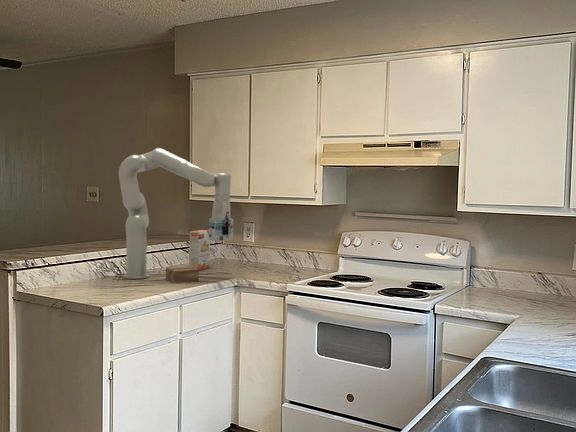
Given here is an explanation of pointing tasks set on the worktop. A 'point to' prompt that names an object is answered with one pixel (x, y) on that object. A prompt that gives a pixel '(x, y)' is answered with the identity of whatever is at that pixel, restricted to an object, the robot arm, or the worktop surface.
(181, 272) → the walnut block
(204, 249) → the cracker box
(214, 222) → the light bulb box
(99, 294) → the worktop surface
